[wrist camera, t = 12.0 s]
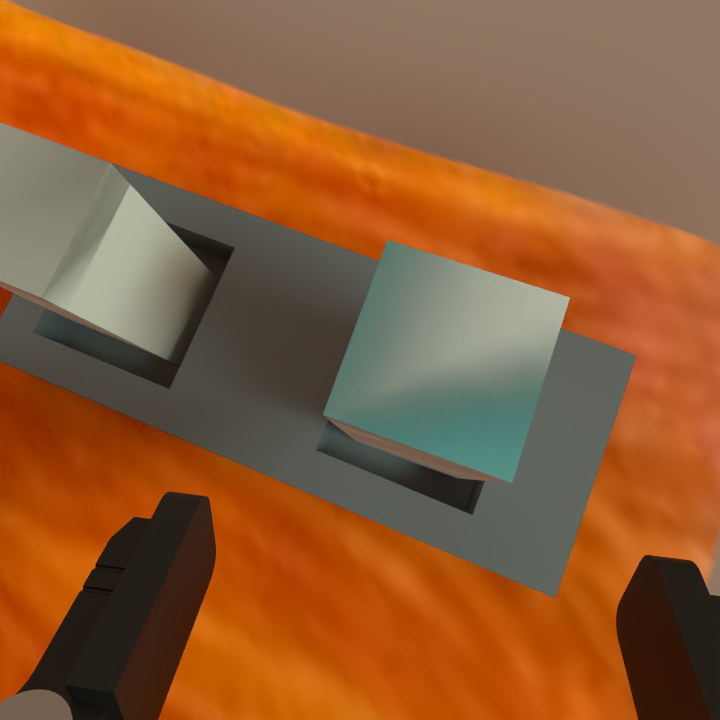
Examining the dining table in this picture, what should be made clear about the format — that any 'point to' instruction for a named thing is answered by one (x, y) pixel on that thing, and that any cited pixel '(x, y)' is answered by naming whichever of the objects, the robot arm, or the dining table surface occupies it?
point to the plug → (446, 365)
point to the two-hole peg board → (266, 354)
